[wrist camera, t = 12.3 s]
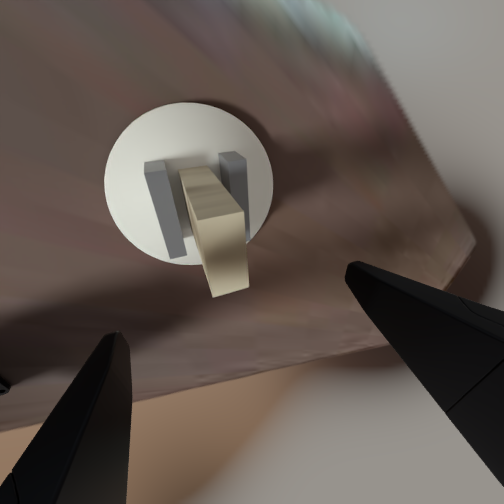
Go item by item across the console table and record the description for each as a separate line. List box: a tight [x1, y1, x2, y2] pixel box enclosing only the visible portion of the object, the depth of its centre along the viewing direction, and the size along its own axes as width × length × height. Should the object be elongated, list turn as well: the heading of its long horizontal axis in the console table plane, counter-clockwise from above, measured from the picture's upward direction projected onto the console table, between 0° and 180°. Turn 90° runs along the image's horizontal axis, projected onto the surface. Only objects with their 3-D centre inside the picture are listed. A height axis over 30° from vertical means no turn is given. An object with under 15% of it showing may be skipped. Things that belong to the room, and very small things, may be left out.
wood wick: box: [178, 165, 249, 297], centre depth 14 cm, size 4×2×8 cm, turn 2°
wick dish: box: [104, 102, 273, 265], centre depth 17 cm, size 12×12×4 cm
